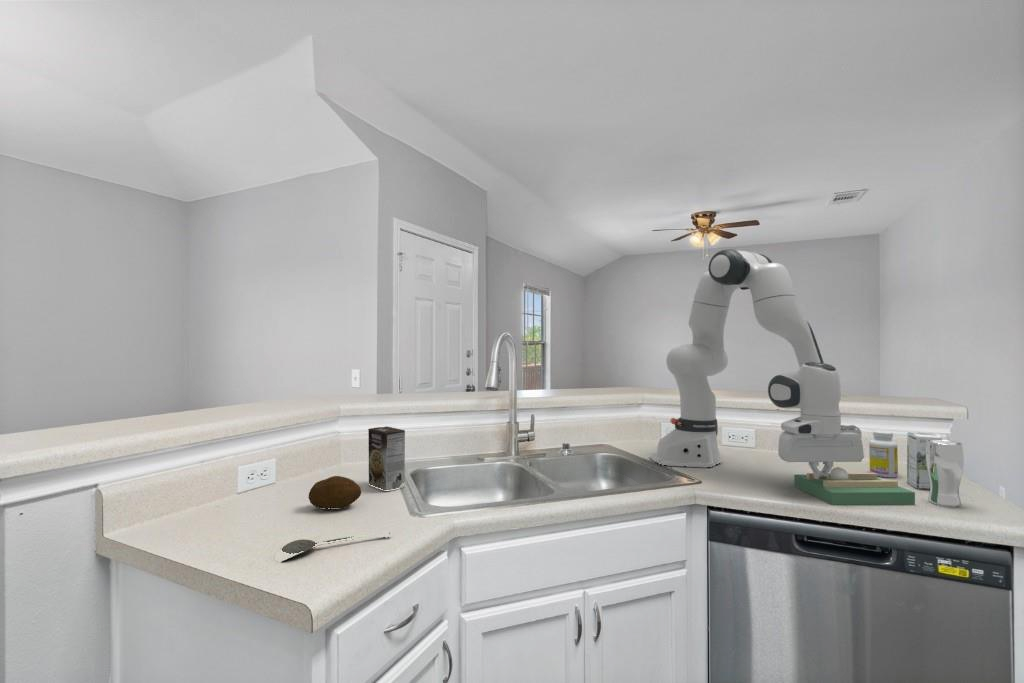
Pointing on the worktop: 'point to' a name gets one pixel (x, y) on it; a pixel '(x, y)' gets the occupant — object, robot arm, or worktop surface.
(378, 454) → the coffee box
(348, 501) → the potato
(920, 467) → the syrup box
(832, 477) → the ball
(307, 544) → the soupspoon
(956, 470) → the beer glass
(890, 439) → the supplement bottle
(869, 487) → the putting mat
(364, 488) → the worktop surface
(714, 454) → the robot arm
